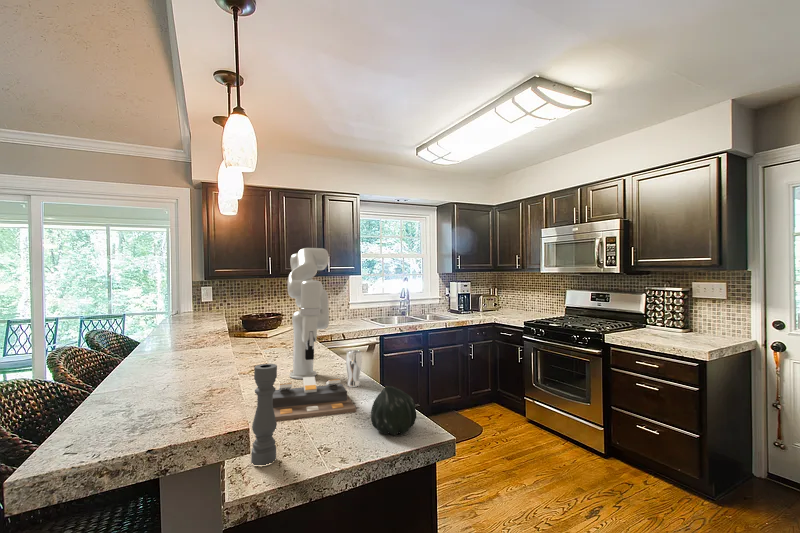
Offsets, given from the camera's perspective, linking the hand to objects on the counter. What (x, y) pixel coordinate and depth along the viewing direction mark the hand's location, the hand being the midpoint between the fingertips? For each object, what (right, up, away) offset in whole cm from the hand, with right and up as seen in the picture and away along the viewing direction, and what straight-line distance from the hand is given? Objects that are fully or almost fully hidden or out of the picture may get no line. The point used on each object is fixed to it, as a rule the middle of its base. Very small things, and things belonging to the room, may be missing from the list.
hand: (309, 359), depth 144 cm
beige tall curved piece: (+15, -17, +20) cm, 30 cm away
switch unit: (+2, -16, -6) cm, 17 cm away
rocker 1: (-8, -9, -6) cm, 13 cm away
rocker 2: (+1, -9, -3) cm, 10 cm away
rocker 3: (+9, -9, 0) cm, 13 cm away
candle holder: (-1, -15, -47) cm, 49 cm away
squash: (+33, -16, -26) cm, 46 cm away
